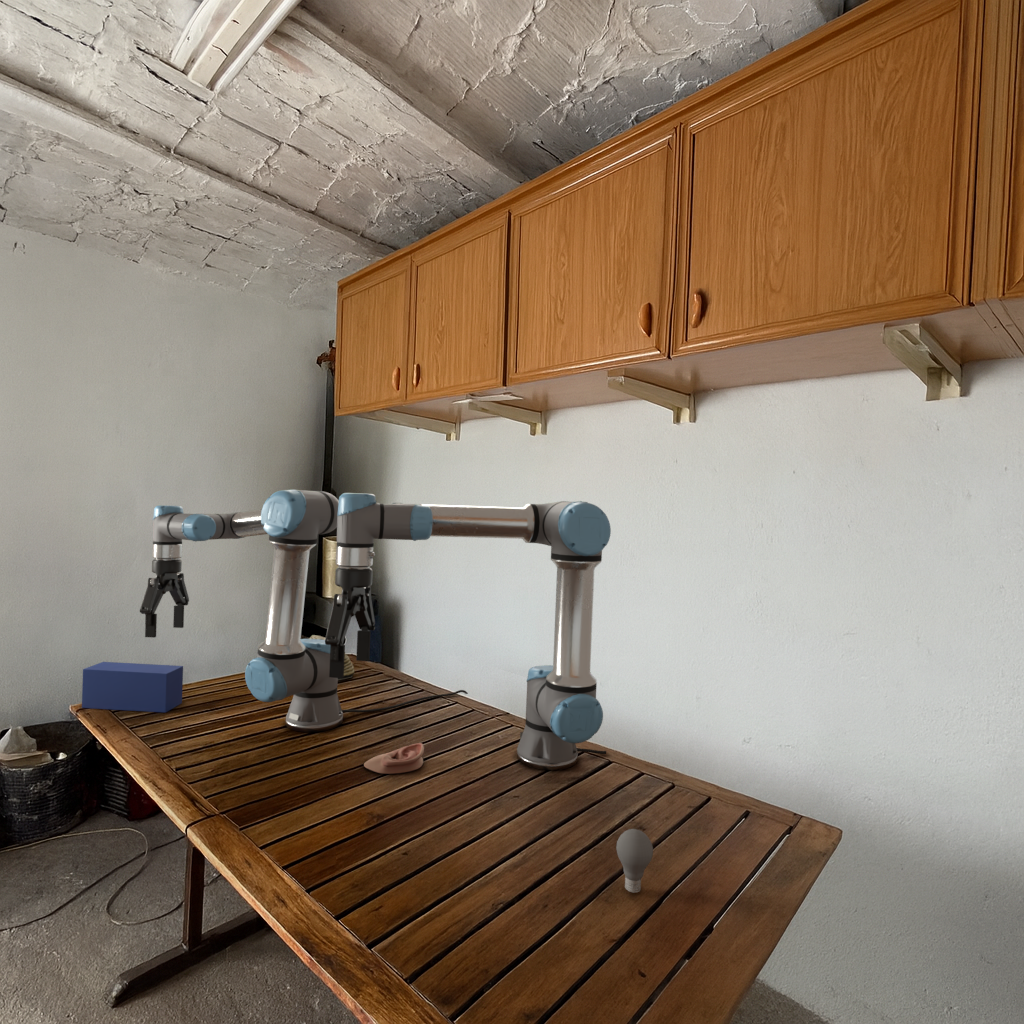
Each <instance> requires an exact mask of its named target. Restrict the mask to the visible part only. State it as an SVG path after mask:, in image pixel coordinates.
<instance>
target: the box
mask: <svg viewBox="0 0 1024 1024" xmlns="http://www.w3.org/2000/svg"><path fill="white" fill-rule="evenodd" d="M183 682H184V665H172V664H171V665H170V664H155V663H153V664H152V663H134V662H115V661H101V662H99V663H96V664H93V665H90V666H87V667H85V668H83V669H82V687H81V709H93V710H95V709H97V710H110V711H111V710H112V711H113V710H115V711H131V712H147V713H148V712H149V713H150V712H151V713H152V712H153V713H167V712H169V711H171V710H172V709H174V708H176V707H178V706H179V705H182V704H183V687H184V686H183V684H184V683H183Z"/></svg>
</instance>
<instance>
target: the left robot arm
mask: <svg viewBox="0 0 1024 1024" xmlns="http://www.w3.org/2000/svg"><path fill="white" fill-rule="evenodd" d="M338 504H339V498H337V497H336V496H335V495H333V494H332V493H329V492H327V491H323V490H304V489H303V490H302V489H290V488H289V489H282V490H277V491H275V492H273V493H272V494H270V496H268V497H267V498H266V500H265V502H264V503H263V505H262V508H258V509H252V510H246V511H238V512H230V513H185V512H184V508H183V506H181V505H162V504H161V505H156V506H155V507H154V509H153V517H152V548H151V549H152V555H151V556H152V558H153V559H152V561H151V572H152V573H153V574H155V577H148V578H147V586H146V589H145V593H144V596H143V599H142V601H141V605H140V608H139V613H140V615H141V614H142V615H145V619H144V622H145V623H144V626H145V628H144V637H145V638H154V639H155V638H157V625H158V624H157V622H158V621H157V619H158V614H157V613H156V611H157V609H158V607H159V604H160V603H161V600H162V599H163V596H164V595H165V594H166V593H168V592H169V595H170V596H171V598H172V600H173V602H174V603H175V605H173V622H172V623H173V624H172V625H173V627H172V628H174V629H183V628H184V627H185V626H184V625H185V623H184V622H185V606H188V605H189V602H190V597H189V594H188V593H189V592H188V590H187V586H186V583H185V574H184V573H183V572H182V565H183V563H182V562H183V561H182V559H181V558H182V557H183V540H184V541H191V542H206V541H209V540H211V541H212V540H231V539H232V540H240V539H245V538H247V537H254V536H263V535H268V542H269V543H270V544H271V545H272V547H273V548H274V549H273V557H272V558H273V559H272V568H271V578H270V587H269V598H268V607H267V617H266V628H265V637H264V638H265V639H264V640H263V641H261V642H260V643H259V644H258V645H257V654H256V657H254V658H252V659H251V660H250V661H249V662H248V663H247V665H246V666H245V670H244V677H245V678H244V679H245V683H246V686H247V688H248V690H249V691H250V693H251V695H252V696H253V697H254V698H255V699H256V700H258V701H260V702H263V703H274V702H276V701H277V702H278V701H282V700H284V699H286V698H288V697H291V696H293V697H292V699H291V702H290V704H289V708H288V711H287V713H286V715H285V726H286V728H287V729H289V730H291V731H294V732H295V731H296V732H301V733H316V732H325V731H329V730H332V729H335V728H337V727H339V726H340V725H342V723H343V722H344V713H372V712H373V713H374V712H381V711H386V710H390V709H391V710H392V709H396V708H399V707H402V706H405V705H408V704H412V703H416V702H420V701H424V700H428V699H434V698H441V697H442V698H443V697H450V696H454V695H458V694H460V693H464V695H468V694H469V693H468V692H467V691H466V690H464V689H459V690H457V691H453V692H451V693H442V694H435V695H428V696H423V697H419V698H416V699H411V700H408V701H407V700H406V701H404V702H401V703H398V704H395V705H390V706H385V707H380V708H372V709H342V706H341V702H340V699H339V695H338V682H339V680H338V678H333V677H329V670H330V645H326V644H325V640H322V639H309V638H302V627H303V620H304V619H303V618H304V608H305V598H306V590H307V581H308V580H307V579H308V571H309V569H308V568H309V560H310V559H309V558H310V551H311V550H312V549H313V548H314V547H315V546H317V543H318V536H320V535H325V534H329V533H331V532H333V531H335V530H337V515H338Z"/></svg>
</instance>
